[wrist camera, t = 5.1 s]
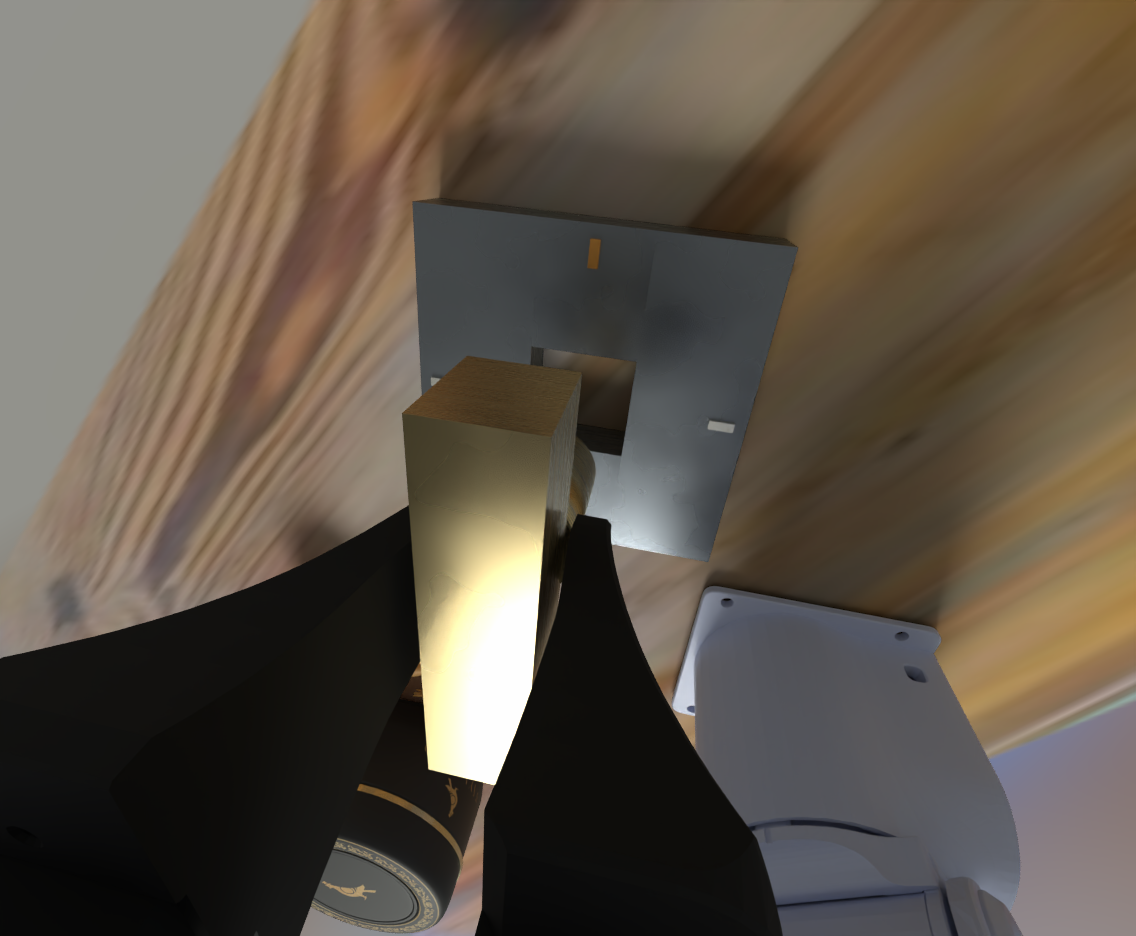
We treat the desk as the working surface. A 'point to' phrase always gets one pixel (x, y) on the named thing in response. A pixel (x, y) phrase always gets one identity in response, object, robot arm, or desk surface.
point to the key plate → (616, 341)
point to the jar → (400, 835)
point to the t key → (489, 546)
